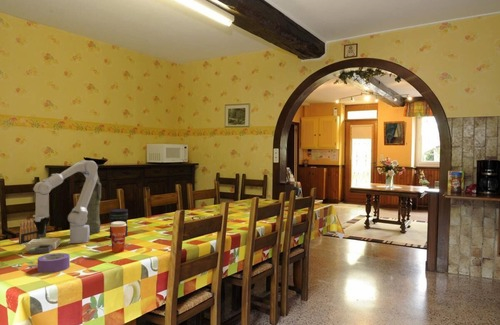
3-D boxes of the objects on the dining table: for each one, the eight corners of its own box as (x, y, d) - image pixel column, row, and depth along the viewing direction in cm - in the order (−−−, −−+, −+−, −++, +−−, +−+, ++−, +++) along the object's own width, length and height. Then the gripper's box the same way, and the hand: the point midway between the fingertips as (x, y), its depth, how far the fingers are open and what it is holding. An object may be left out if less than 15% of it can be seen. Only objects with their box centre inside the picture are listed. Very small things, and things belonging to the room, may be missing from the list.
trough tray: (60, 243, 188) (60, 238, 188) (55, 249, 178) (55, 243, 178) (32, 245, 185) (32, 239, 185) (25, 250, 175) (25, 244, 175)
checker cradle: (52, 249, 177) (52, 244, 177) (48, 252, 171) (48, 247, 171) (32, 250, 175) (32, 245, 175) (27, 253, 169) (27, 248, 169)
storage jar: (105, 236, 205) (105, 210, 205) (118, 233, 214) (118, 208, 214) (119, 238, 202) (119, 212, 201) (131, 234, 211) (131, 209, 210)
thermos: (96, 234, 209) (96, 174, 208) (78, 233, 211) (78, 174, 210) (105, 231, 218) (105, 174, 217) (88, 230, 220) (88, 173, 219)
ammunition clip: (21, 244, 186) (21, 221, 186) (18, 243, 187) (18, 220, 187) (40, 239, 196) (40, 217, 196) (37, 239, 197) (37, 217, 197)
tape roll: (31, 269, 148) (31, 257, 148) (59, 262, 158) (59, 251, 158) (47, 275, 142) (47, 262, 142) (75, 267, 152) (75, 255, 151)
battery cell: (46, 236, 181) (46, 221, 181) (44, 237, 178) (44, 222, 178) (39, 236, 180) (39, 221, 180) (37, 237, 177) (37, 222, 177)
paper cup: (110, 253, 172) (110, 224, 171) (108, 249, 178) (109, 221, 178) (127, 251, 175) (128, 223, 175) (125, 248, 182) (125, 220, 182)
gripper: (37, 204, 185) (37, 230, 185) (28, 208, 171) (28, 237, 171) (53, 204, 186) (53, 230, 187) (44, 208, 172) (44, 236, 173)
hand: (42, 233), depth 179 cm, fingers closed on battery cell, 3 cm apart
